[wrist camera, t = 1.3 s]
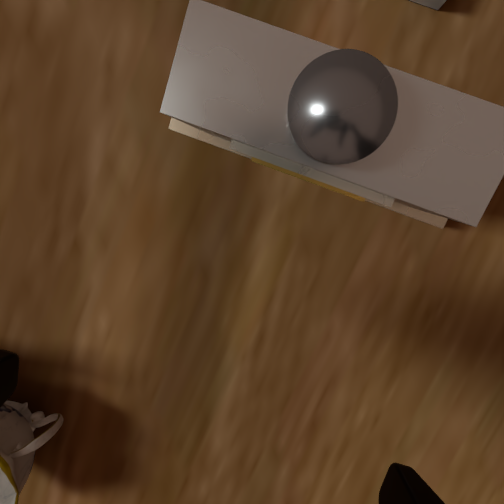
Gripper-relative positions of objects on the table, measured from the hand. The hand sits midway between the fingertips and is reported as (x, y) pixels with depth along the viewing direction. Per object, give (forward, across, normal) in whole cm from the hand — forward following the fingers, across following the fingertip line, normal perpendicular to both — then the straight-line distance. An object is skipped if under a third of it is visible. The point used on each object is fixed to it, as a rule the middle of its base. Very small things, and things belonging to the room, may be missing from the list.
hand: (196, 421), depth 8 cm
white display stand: (+12, -2, -8) cm, 14 cm away
